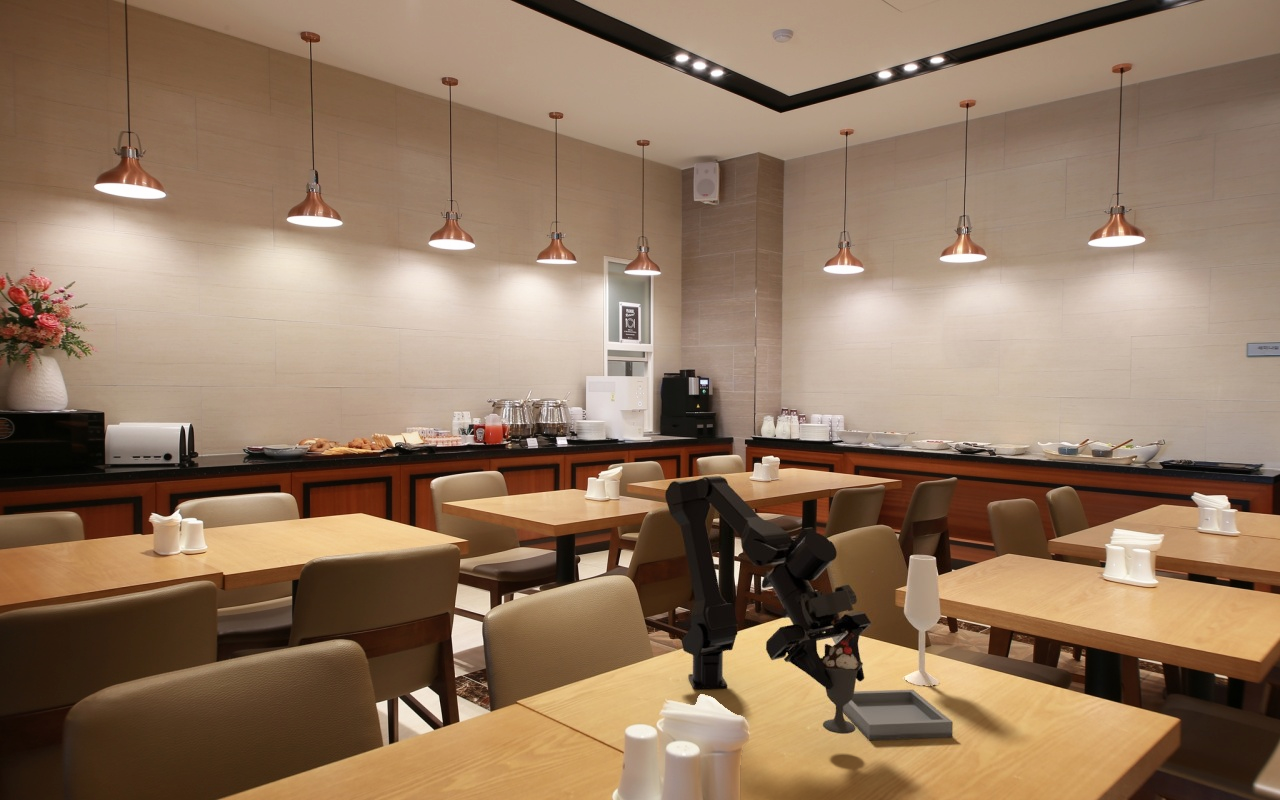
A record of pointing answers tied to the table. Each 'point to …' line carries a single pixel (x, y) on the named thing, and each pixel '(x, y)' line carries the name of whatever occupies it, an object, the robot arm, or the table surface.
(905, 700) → the tray
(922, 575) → the champagne flute
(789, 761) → the table surface
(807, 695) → the table surface
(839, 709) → the sundae
